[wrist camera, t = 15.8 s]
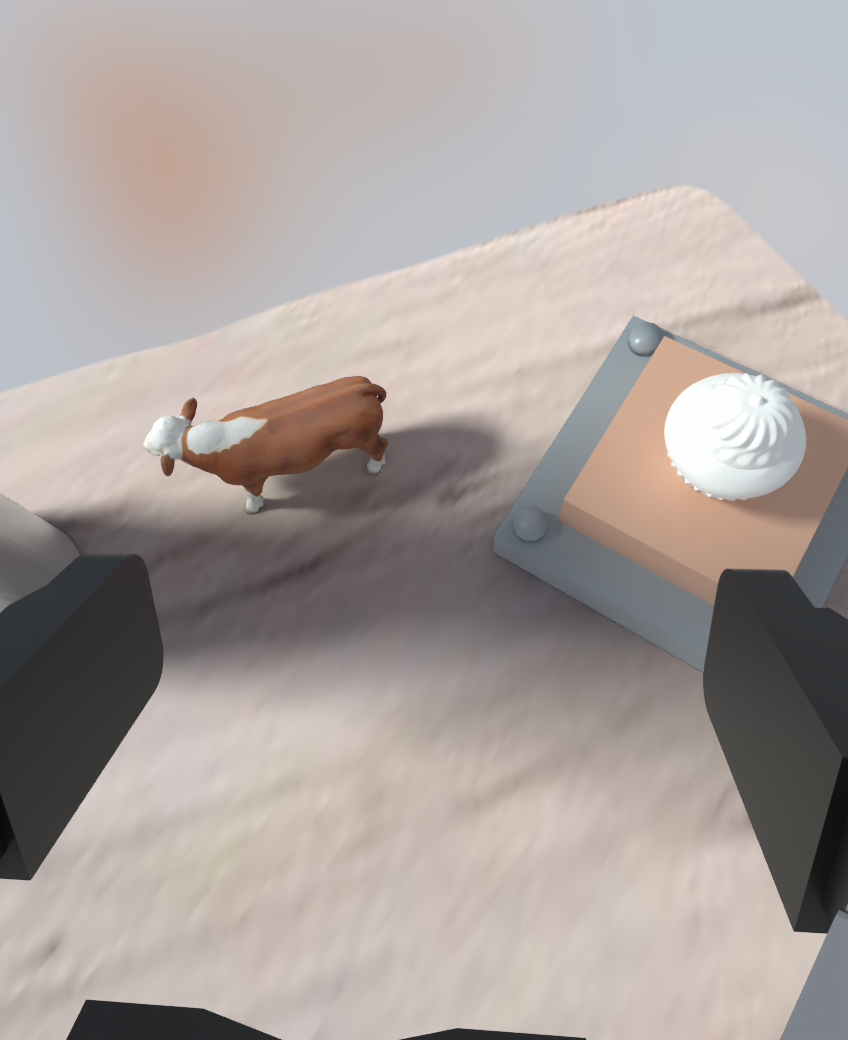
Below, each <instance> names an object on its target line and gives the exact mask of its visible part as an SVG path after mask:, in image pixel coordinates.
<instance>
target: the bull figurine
mask: <svg viewBox="0 0 848 1040" xmlns="http://www.w3.org/2000/svg"><path fill="white" fill-rule="evenodd" d="M377 396H379V397H378V398H377ZM385 398H386V391H385V390H384V389H383V388H382V387H380V386H379V385H376V384H372V383H371V382H370V381H369V380H368V379H367V378H365V377H362V376H354V377H345V378H341V379H338V380H336V381H333V382H331V383H327V384H323V385H318V386H314V387H311V388H309V389H306V390H304V391H301V392H298V393H295V394H292V395H289V396H286V397H283V398H279V399H276V400H272V401H269V402H266V403H263V404H261V405H258V406H254V407H250V408H245V409H242V410H238V411H235V412H233V413H230V414H228V415H227V416H225V417H224V418H223V419H221V420H219V421H208V422H204V423H201V424H198V425H195V426H191V422H192V420H193V418H194V416H195V413H196V408H197V401H196V399H194V398H191V399H189V400H188V401H187V402H186V403H185V404H184V405H183V409H182V412H181V415H180V416H179V417H178V418H176V417H174V416H164V417H162V418H160V419H158V420H157V421H156V422H155V423H154V425H153V428H152V431H150V432H149V433H148V435H147V437H146V439H145V441H144V444H143V445H144V447H145V449H146V450H147V451H148V452H149V453H150V454H152V455H155V456H160V455H163V456H162V457H161V466H162V470H163V473H164V474H165V475H166V476H170V475H171V474H172V472H173V468H174V462H175V459H178V460H181V461H183V462H185V463H187V464H189V465H191V466H193V467H196V468H199V469H201V470H203V471H206V472H209V473H212V474H216V475H217V476H219V477H220V478H221V479H222V480H223V481H224V482H226V483H228V484H232V485H242V486H243V487H244V488H245V493H246V494H247V496H249V497H248V500H247V501H246V503H245V505H244V510H245V512H246V513H248V514H255V513H257V512H258V511H259V507H262V506H263V501H264V498H263V497H262V496H261V495H260V494H261V493H262V489H263V484H264V482H265V480H266V479H267V478H268V477H269V476H274V475H285V474H295V473H300V472H304V471H307V470H310V469H312V468H314V467H316V466H317V465H318V464H320V463H321V462H322V461H323V460H324V459H325V458H327V457H328V456H329V455H330V454H331V453H332V452H333V451H335V450H337V449H342V450H343V449H352V448H359V449H362V450H363V451H365V452H368V453H369V454H370V455H371V459H370V460H369V461H368V463H367V464H366V470H367V472H368V473H369V474H371V475H373V474H377V473H378V472H379V471H380V470H381V465H383V464H385V463H386V459H385V448H386V446H387V445H388V442H387V440H386V439H384V438H381V437H380V436H379V435H378V432H379V430H380V428H381V425H382V421H383V411H382V407H381V404H380V403H382V402H383V401H384V400H385Z"/></svg>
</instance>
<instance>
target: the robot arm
mask: <svg viewBox="0 0 848 1040" xmlns="http://www.w3.org/2000/svg"><path fill="white" fill-rule="evenodd" d="M162 668H163V645H162V640H161V635H160V630H159V625H158V620H157V615H156V610H155V605H154V600H153V595H152V591H151V586H150V581H149V576H148V571H147V568H146V565H145V563H144V561H143V560H142V558H141V557H140V556H138V555H135V554H99V553H84V554H81V555H80V553H79V552H78V550H77V548H76V546H75V544H74V543H73V542H72V541H71V540H70V538H69V537H68V536H67V535H66V534H65V533H63V532H62V531H60V530H59V529H57V528H56V527H54V526H52V525H51V524H49V523H48V522H46V521H44V520H43V519H41V518H40V517H38V516H36V515H35V514H33V513H32V512H30V511H28V510H27V509H25V508H24V507H23V506H21V505H19V504H18V503H16V502H14V501H13V500H11V499H10V498H8V497H6V496H5V495H3V494H1V493H0V878H1V879H17V880H31V879H32V878H33V876H34V874H35V873H36V871H37V870H38V868H39V867H40V865H41V864H42V862H43V861H44V859H45V858H46V856H47V855H48V853H49V852H50V850H51V849H52V847H53V846H54V844H55V842H56V841H57V839H58V838H59V836H60V835H61V833H62V832H63V830H64V829H65V827H66V826H67V824H68V823H69V821H70V820H71V818H72V817H73V815H74V814H75V812H76V810H77V809H78V807H79V806H80V804H81V803H82V801H83V800H84V798H85V797H86V795H87V794H88V792H89V791H90V789H91V788H92V786H93V785H94V783H95V782H96V780H97V778H98V777H99V775H100V774H101V772H102V771H103V769H104V768H105V766H106V765H107V763H108V762H109V760H110V759H111V757H112V756H113V754H114V753H115V751H116V749H117V748H118V746H119V745H120V743H121V742H122V740H123V739H124V737H125V736H126V734H127V733H128V731H129V730H130V728H131V727H132V725H133V724H134V722H135V721H136V719H137V717H138V716H139V714H140V713H141V711H142V710H143V708H144V707H145V705H146V704H147V702H148V701H149V699H150V698H151V696H152V695H153V693H154V692H155V690H156V688H157V686H158V683H159V681H160V677H161V673H162ZM703 685H704V696H705V703H706V707H707V711H708V714H709V717H710V719H711V722H712V724H713V727H714V729H715V732H716V734H717V737H718V740H719V742H720V745H721V747H722V750H723V752H724V755H725V757H726V760H727V763H728V765H729V768H730V770H731V773H732V775H733V778H734V780H735V783H736V785H737V788H738V791H739V793H740V796H741V798H742V801H743V803H744V806H745V808H746V811H747V813H748V816H749V819H750V821H751V824H752V826H753V829H754V831H755V834H756V836H757V839H758V841H759V844H760V847H761V849H762V852H763V854H764V857H765V859H766V862H767V864H768V867H769V869H770V872H771V875H772V877H773V880H774V882H775V885H776V887H777V890H778V892H779V895H780V897H781V900H782V903H783V905H784V908H785V910H786V913H787V915H788V918H789V920H790V923H791V926H792V928H793V931H795V932H811V933H827V936H826V938H825V940H824V943H823V945H822V947H821V949H820V952H819V954H818V956H817V958H816V960H815V963H814V965H813V967H812V969H811V972H810V974H809V976H808V978H807V981H806V983H805V985H804V987H803V990H802V992H801V994H800V996H799V998H798V1001H797V1003H796V1005H795V1007H794V1010H793V1012H792V1014H791V1016H790V1019H789V1021H788V1023H787V1025H786V1028H785V1030H784V1032H783V1034H782V1036H781V1039H780V1040H848V620H847V619H846V618H844V617H843V616H841V615H840V614H838V613H837V612H835V611H834V610H832V609H830V608H815V607H814V606H813V604H812V603H811V602H810V600H809V599H808V598H807V596H806V595H805V593H804V592H803V591H802V589H801V588H800V587H799V585H798V584H797V583H796V581H795V580H794V578H793V577H792V576H791V574H790V573H789V572H788V571H786V570H771V569H725V570H724V571H723V572H722V574H721V576H720V578H719V581H718V586H717V591H716V597H715V603H714V609H713V615H712V621H711V627H710V633H709V639H708V645H707V651H706V657H705V664H704V674H703ZM66 1040H281V1039H279V1038H276V1037H274V1036H271V1035H269V1034H266V1033H263V1032H261V1031H258V1030H256V1029H253V1028H251V1027H248V1026H246V1025H243V1024H241V1023H238V1022H236V1021H233V1020H231V1019H228V1018H226V1017H223V1016H221V1015H218V1014H215V1013H213V1012H210V1011H208V1010H205V1009H201V1008H188V1007H175V1006H162V1005H149V1004H136V1003H123V1002H110V1001H97V1000H86V1001H85V1003H84V1005H83V1007H82V1009H81V1011H80V1013H79V1015H78V1017H77V1019H76V1021H75V1023H74V1025H73V1027H72V1029H71V1031H70V1033H69V1035H68V1037H67V1039H66ZM401 1040H586V1038H578V1037H565V1036H552V1035H539V1034H526V1033H513V1032H500V1031H487V1030H474V1029H461V1028H456V1029H451V1030H446V1031H441V1032H436V1033H431V1034H426V1035H421V1036H416V1037H411V1038H406V1039H401Z"/></svg>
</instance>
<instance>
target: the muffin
mask: <svg viewBox="0 0 848 1040" xmlns="http://www.w3.org/2000/svg"><path fill="white" fill-rule="evenodd" d="M664 437H665V444H666V448H667V451H668V454H667V455H668V457H669V458H670V459H671V460H672V463H671V465H672V467H673V468H674V469H675V470H676V471H677V475H678V476H679V477H680V478H681V479H683V480H684V481H685V483H686V484H687V485H688V486H689V487H693V488H694V490H695V491H700V492H701V493H702V494H703V495H705V496H707V497H713V498H716V499H718V500H723V499H726V500H730V501H735V500H736V499H741V500H747V498H753V497H758V496H762V495H765V494H768V493H770V492H772V491H775V490H776V489H778V488H780V487H781V486H783V485H784V484H785V483H786V482H787V481H789V480H790V479H791V477H792V476H793V475H794V474H795V472H796V471H797V470H798V468H799V466H800V464H801V462H802V460H803V457H804V454H805V449H806V433H805V427H804V424H803V420H802V418H801V415H800V413H799V411H798V409H797V407H796V405H795V404H794V402H793V401H792V400H791V399H790V397H789V393H788V391H787V390H785V389H783V388H779V384H778V382H777V381H776V380H769V381H766V379H765V377H764V375H762V374H761V375H758V376H753V375H749V374H748V373H745V374H742V373H724V374H718V375H714V376H710V377H707V378H705V379H702V380H700V381H698V382H696V383H694V384H692V385H691V386H689V387H688V388H686V389H685V390H684V391H683V392H682V393H681V394H680V395H679V396H678V397H677V398H676V400H675V401H674V403H673V404H672V406H671V408H670V410H669V412H668V415H667V418H666V422H665V428H664Z"/></svg>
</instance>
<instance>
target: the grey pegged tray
mask: <svg viewBox="0 0 848 1040" xmlns="http://www.w3.org/2000/svg"><path fill="white" fill-rule="evenodd" d="M724 373H742V374H745V373H748V374H749V375H753V376H758V375H761V374H760V373H757V372H755V371H753V370H751V369H749V368H747V367H744V366H742V365H740V364H738V363H736V362H733V361H731V360H729V359H727V358H725V357H723V356H720V355H718V354H716V353H714V352H712V351H709V350H707V349H705V348H703V347H701V346H699V345H696V344H694V343H692V342H690V341H688V340H685V339H683V338H681V337H679V336H677V335H675V334H672V333H670V332H668V331H666V330H664V329H662V328H659V327H658V326H657V325H655V324H653V323H650V322H646V321H644V320H642V319H640V318H638V317H635V316H633V317H632V318H631V320H630V322H629V323H628V325H627V326H626V328H625V329H624V331H623V333H622V334H621V336H620V337H619V339H618V341H617V342H616V344H615V345H614V347H613V348H612V350H611V352H610V353H609V355H608V356H607V358H606V359H605V361H604V363H603V364H602V366H601V367H600V369H599V370H598V372H597V374H596V375H595V377H594V378H593V380H592V381H591V383H590V385H589V386H588V388H587V389H586V391H585V393H584V394H583V396H582V397H581V399H580V400H579V402H578V404H577V405H576V407H575V408H574V410H573V411H572V413H571V415H570V416H569V418H568V419H567V421H566V422H565V424H564V426H563V427H562V429H561V430H560V432H559V433H558V435H557V437H556V438H555V440H554V441H553V443H552V445H551V446H550V448H549V449H548V451H547V452H546V454H545V456H544V457H543V459H542V460H541V462H540V463H539V465H538V467H537V468H536V470H535V471H534V473H533V474H532V476H531V478H530V479H529V481H528V482H527V484H526V485H525V487H524V489H523V490H522V492H521V493H520V495H519V496H518V498H517V500H516V501H515V503H514V504H513V506H512V508H511V509H510V511H509V512H508V514H507V515H506V517H505V519H504V520H503V522H502V523H501V525H500V526H499V528H498V530H497V531H496V533H495V534H494V546H493V552H494V553H496V554H497V555H499V556H501V557H503V558H504V559H506V560H508V561H510V562H511V563H513V564H515V565H516V566H518V567H520V568H522V569H523V570H525V571H527V572H529V573H530V574H532V575H534V576H536V577H537V578H539V579H541V580H543V581H544V582H546V583H548V584H550V585H551V586H553V587H555V588H557V589H558V590H560V591H562V592H564V593H565V594H567V595H569V596H570V597H572V598H574V599H576V600H577V601H579V602H581V603H583V604H584V605H586V606H588V607H590V608H591V609H593V610H595V611H597V612H598V613H600V614H602V615H604V616H605V617H607V618H609V619H611V620H612V621H614V622H616V623H618V624H619V625H621V626H623V627H625V628H626V629H628V630H630V631H631V632H633V633H635V634H637V635H638V636H640V637H642V638H644V639H645V640H647V641H649V642H651V643H652V644H654V645H656V646H658V647H659V648H661V649H663V650H665V651H666V652H668V653H670V654H672V655H673V656H675V657H677V658H679V659H680V660H682V661H684V662H685V663H687V664H689V665H691V666H692V667H694V668H696V669H698V670H699V671H701V672H703V673H704V664H705V657H706V651H707V645H708V639H709V633H710V627H711V621H712V615H713V609H714V603H715V597H716V591H717V586H718V581H719V578H720V576H721V574H722V572H723V571H724V570H725V569H771V570H786V571H788V572H789V573H790V574H791V576H792V577H793V578H794V580H795V581H796V583H797V584H798V585H799V587H800V588H801V589H802V591H803V592H804V593H805V595H806V596H807V598H808V599H809V600H810V602H811V603H812V604H813V606H814V607H815V608H823V606H824V604H825V602H826V600H827V598H828V596H829V594H830V592H831V590H832V588H833V585H834V583H835V581H836V579H837V577H838V575H839V573H840V571H841V569H842V567H843V565H844V563H845V561H846V559H847V557H848V414H847V413H845V412H842V411H840V410H838V409H836V408H834V407H832V406H829V405H827V404H825V403H823V402H821V401H818V400H816V399H814V398H812V397H810V396H808V395H805V394H803V393H801V392H799V391H797V390H794V389H792V388H790V387H788V386H786V385H784V384H781V383H779V382H778V384H779V388H783V389H785V390H787V391H788V393H789V397H790V399H791V400H792V401H793V402H794V404H795V405H796V407H797V409H798V411H799V413H800V415H801V418H802V420H803V424H804V427H805V433H806V449H805V454H804V457H803V460H802V462H801V464H800V466H799V468H798V470H797V471H796V472H795V474H794V475H793V476H792V477H791V479H790V480H789V481H787V482H786V483H785V484H784V485H783V486H781V487H780V488H778V489H776V490H775V491H772V492H770V493H768V494H765V495H762V496H758V497H753V498H747V500H741V499H736V500H735V501H730V500H726V499H723V500H718V499H716V498H713V497H707V496H705V495H703V494H702V493H701V492H700V491H695V490H694V488H693V487H689V486H688V485H687V484H686V483H685V481H684V480H683V479H681V478H680V477H679V476H678V475H677V471H676V470H675V469H674V468H673V467H672V465H671V463H672V460H671V459H670V458H669V457H668V455H667V454H668V451H667V448H666V444H665V437H664V428H665V422H666V418H667V415H668V412H669V410H670V408H671V406H672V404H673V403H674V401H675V400H676V398H677V397H678V396H679V395H680V394H681V393H682V392H683V391H684V390H685V389H686V388H688V387H689V386H691V385H692V384H694V383H696V382H698V381H700V380H702V379H705V378H707V377H710V376H714V375H718V374H724ZM764 377H765V379H766V381H769V380H773V379H770V378H768V377H766V376H764Z"/></svg>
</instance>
